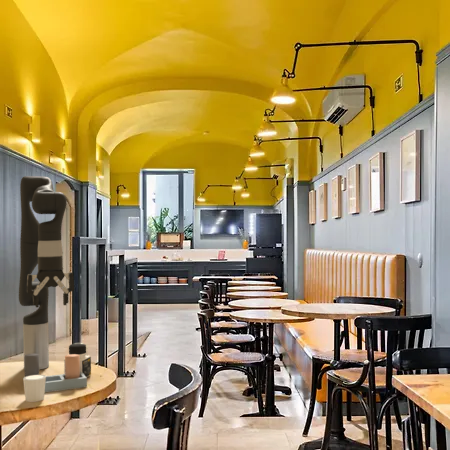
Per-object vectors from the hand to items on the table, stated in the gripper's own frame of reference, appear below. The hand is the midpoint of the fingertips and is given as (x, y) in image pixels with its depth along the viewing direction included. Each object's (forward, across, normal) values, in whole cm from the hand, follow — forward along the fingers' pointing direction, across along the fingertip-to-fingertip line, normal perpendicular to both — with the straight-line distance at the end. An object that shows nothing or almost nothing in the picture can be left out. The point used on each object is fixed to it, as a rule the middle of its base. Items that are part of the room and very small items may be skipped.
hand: (50, 306), depth 183 cm
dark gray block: (+29, +4, -21) cm, 36 cm away
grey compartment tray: (+29, -5, -13) cm, 32 cm away
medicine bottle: (+30, -12, -23) cm, 39 cm away
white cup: (+29, +5, -2) cm, 30 cm away
